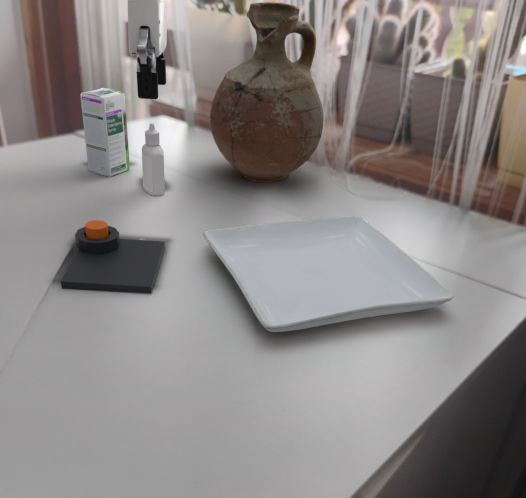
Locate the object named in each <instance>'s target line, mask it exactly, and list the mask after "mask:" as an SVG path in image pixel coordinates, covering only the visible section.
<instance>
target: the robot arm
mask: <svg viewBox="0 0 526 498" xmlns="http://www.w3.org/2000/svg"><path fill="white" fill-rule="evenodd" d="M167 10H168V9H167V0H127V30H128V32H127V33H128V35H127V36H128V53H129V54H130V56H131V57H134V56H135V55H136V56H137V57H136V86H137V87H136V88H137V97H138V98H139V99H143V100H158V98H159V86H166V85H167V63H166V62H167V61H166V59H165V57H166V53H165V50H166V48H167V45H168V13H167Z"/></svg>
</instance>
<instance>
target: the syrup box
mask: <svg viewBox="0 0 526 498" xmlns="http://www.w3.org/2000/svg"><path fill="white" fill-rule="evenodd" d="M79 97H80V105H81V112H82V123H83V124H82V125H83V132H84V133H83V134H84V143H85V149H86V160H87V169H88V171H89V172H92V173H95V174H98V175H101V176H104V177H107V178H111V177H113V176H116V175H118V174H121V173H124V172H127V171H130V170H131V166H130V164H131V163H130V149H129V137H128V121H127V107H126V94H125V92H123V91H121V90H118V89H114V88H107V87H100V88H98V89H92V90H89V91H85V92H81V93H80V95H79Z"/></svg>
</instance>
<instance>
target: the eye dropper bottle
mask: <svg viewBox="0 0 526 498" xmlns="http://www.w3.org/2000/svg"><path fill="white" fill-rule="evenodd" d="M144 140H145V143H144V144H143V145H142V147H141V166H142V167H141V168H142V169H141V170H142V187H143V188H142V189H143V191H144V192H145V193H146V194H148V195H150V196H153V197H158V196H163V195H165V193H166V188H165V187H166V184H165V183H166V181H165V153H164V149H163V148H162V146H161V145H160V132H159V130H157V129H156V127H155V123H153V122H150V123H149V126H148V129H147V130H144Z"/></svg>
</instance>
